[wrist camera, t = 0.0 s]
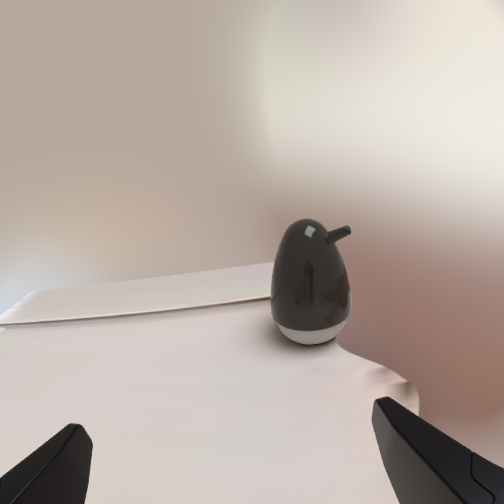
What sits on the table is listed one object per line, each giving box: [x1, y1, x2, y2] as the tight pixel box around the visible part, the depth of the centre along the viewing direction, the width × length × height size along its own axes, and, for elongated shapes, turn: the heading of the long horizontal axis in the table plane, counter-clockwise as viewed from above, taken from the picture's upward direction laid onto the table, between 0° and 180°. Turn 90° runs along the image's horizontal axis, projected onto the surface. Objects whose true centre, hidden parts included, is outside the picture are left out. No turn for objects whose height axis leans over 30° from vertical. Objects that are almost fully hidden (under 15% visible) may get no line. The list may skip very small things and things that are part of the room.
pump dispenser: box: [271, 218, 352, 344], centre depth 39 cm, size 10×10×15 cm
